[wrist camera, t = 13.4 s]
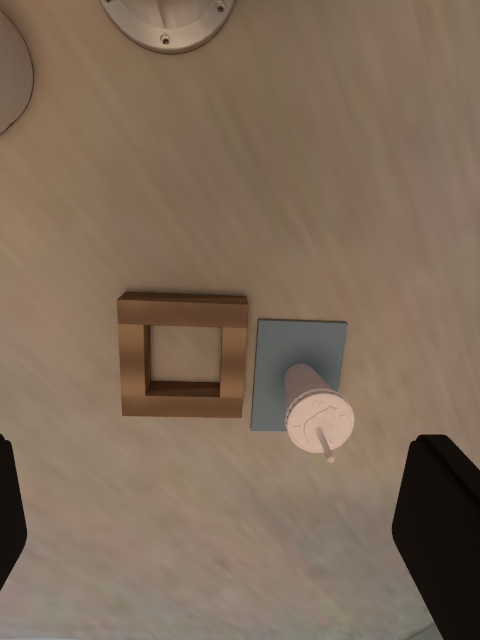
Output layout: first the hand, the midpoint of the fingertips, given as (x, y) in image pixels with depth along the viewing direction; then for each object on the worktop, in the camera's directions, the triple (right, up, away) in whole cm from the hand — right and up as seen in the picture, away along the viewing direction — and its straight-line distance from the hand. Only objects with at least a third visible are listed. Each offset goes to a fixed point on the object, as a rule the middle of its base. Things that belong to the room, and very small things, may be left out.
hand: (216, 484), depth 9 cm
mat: (+7, -3, +35) cm, 36 cm away
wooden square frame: (-6, 0, +34) cm, 34 cm away
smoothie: (+7, -3, +35) cm, 36 cm away
